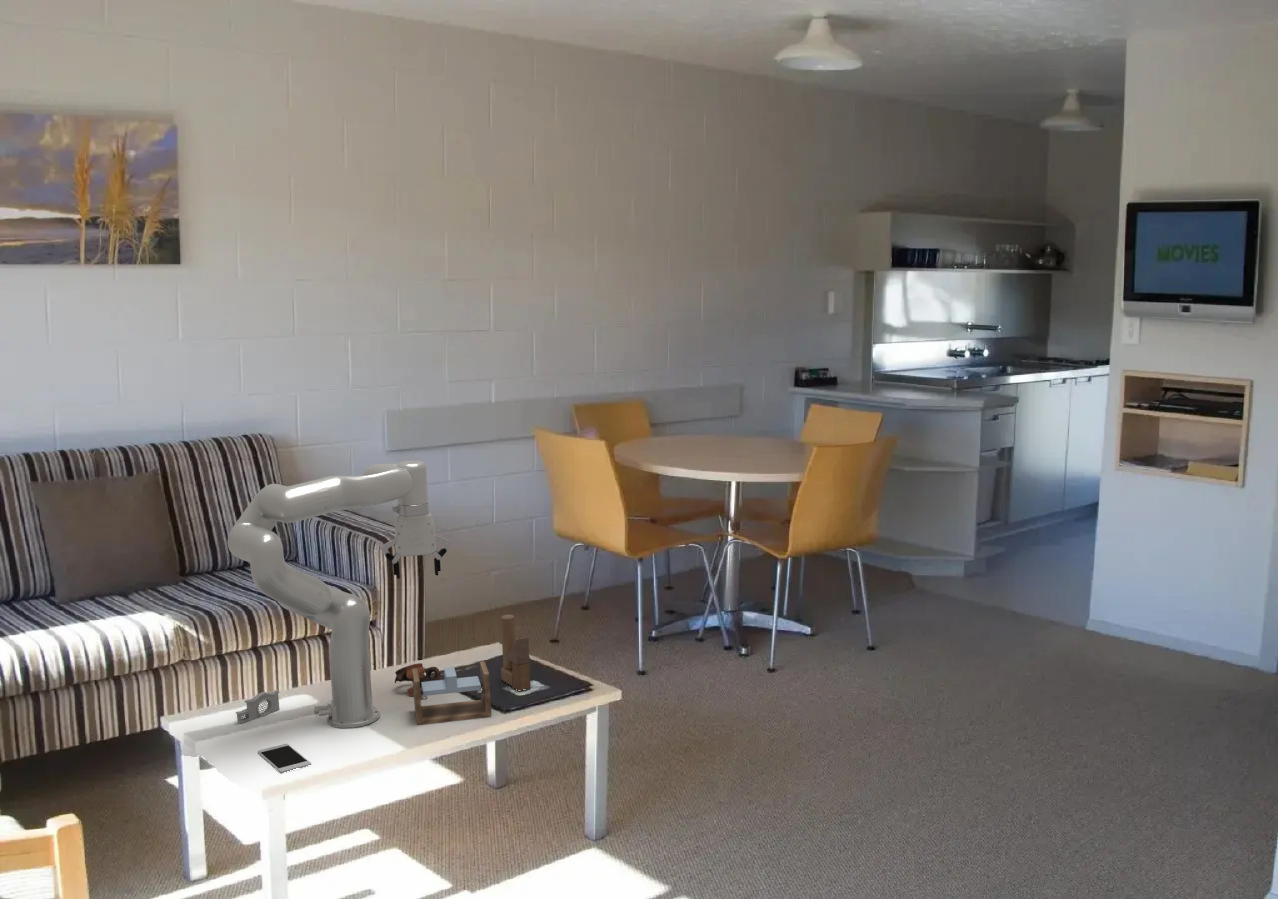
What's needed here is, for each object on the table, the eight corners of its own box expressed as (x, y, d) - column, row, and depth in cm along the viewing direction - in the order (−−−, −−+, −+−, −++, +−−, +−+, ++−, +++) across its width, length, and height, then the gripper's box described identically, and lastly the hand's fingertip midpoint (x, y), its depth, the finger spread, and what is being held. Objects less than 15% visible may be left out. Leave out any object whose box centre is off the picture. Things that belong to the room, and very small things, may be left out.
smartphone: (281, 775, 270) (280, 771, 270) (257, 754, 282) (256, 750, 282) (312, 767, 274) (311, 763, 274) (287, 746, 286) (286, 743, 286)
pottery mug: (398, 701, 314) (389, 671, 317) (404, 705, 323) (395, 675, 326) (443, 685, 316) (434, 655, 318) (447, 689, 325) (438, 660, 327)
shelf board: (423, 696, 297) (422, 679, 296) (421, 686, 303) (420, 670, 303) (481, 689, 300) (480, 673, 299) (477, 680, 307) (477, 664, 306)
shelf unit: (417, 725, 296) (414, 681, 294) (414, 710, 305) (412, 668, 304) (491, 716, 300) (489, 673, 298) (486, 702, 310) (484, 661, 308)
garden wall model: (240, 725, 300) (238, 701, 299) (235, 723, 301) (233, 700, 300) (281, 710, 309) (279, 687, 308) (277, 708, 310) (275, 686, 309)
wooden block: (518, 692, 317) (515, 625, 314) (501, 681, 326) (497, 615, 323) (531, 689, 319) (528, 622, 316) (513, 678, 328) (510, 613, 325)
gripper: (378, 515, 302) (383, 582, 304) (449, 510, 306) (452, 576, 308) (378, 509, 309) (382, 575, 312) (446, 504, 313) (450, 569, 316)
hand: (417, 575), depth 310 cm, fingers open, 9 cm apart
